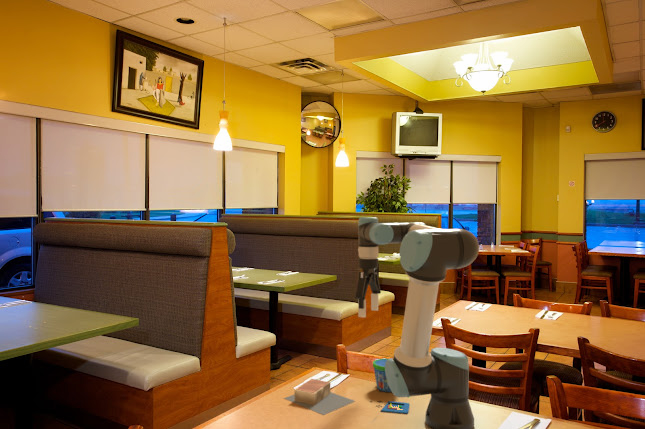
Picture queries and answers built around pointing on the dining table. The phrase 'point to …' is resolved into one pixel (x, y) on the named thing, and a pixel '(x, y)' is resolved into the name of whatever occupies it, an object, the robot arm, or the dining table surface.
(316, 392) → the birch board
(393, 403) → the handheld gaming device
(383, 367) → the snack cup
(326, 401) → the mat
